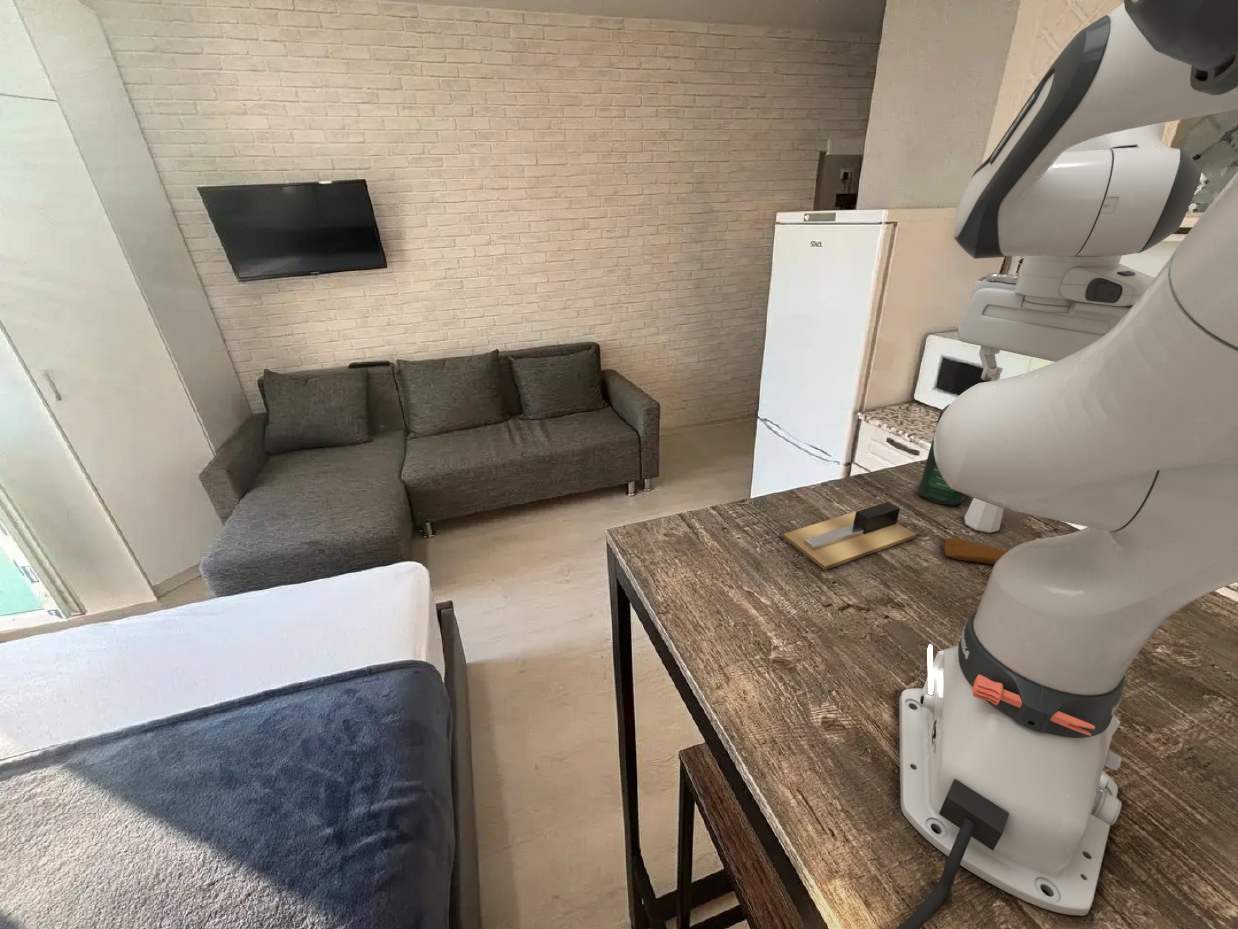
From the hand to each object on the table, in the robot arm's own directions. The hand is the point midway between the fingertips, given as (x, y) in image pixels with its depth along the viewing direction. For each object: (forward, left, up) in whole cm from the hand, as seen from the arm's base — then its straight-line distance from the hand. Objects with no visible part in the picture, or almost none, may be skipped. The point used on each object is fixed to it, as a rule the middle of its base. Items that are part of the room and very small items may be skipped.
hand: (1025, 389), depth 67 cm
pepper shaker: (+15, -1, -29) cm, 33 cm away
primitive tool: (+4, -6, -29) cm, 30 cm away
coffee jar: (+23, +6, -29) cm, 38 cm away
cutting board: (-2, +17, -29) cm, 34 cm away
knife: (-2, +17, -28) cm, 33 cm away
